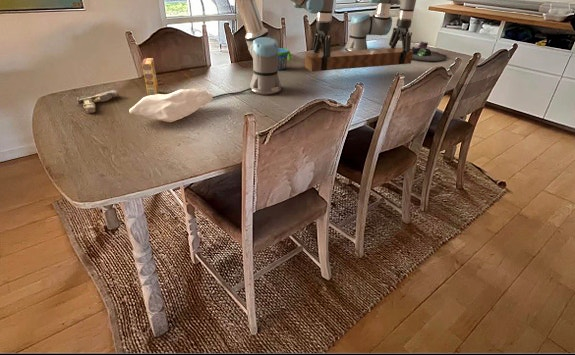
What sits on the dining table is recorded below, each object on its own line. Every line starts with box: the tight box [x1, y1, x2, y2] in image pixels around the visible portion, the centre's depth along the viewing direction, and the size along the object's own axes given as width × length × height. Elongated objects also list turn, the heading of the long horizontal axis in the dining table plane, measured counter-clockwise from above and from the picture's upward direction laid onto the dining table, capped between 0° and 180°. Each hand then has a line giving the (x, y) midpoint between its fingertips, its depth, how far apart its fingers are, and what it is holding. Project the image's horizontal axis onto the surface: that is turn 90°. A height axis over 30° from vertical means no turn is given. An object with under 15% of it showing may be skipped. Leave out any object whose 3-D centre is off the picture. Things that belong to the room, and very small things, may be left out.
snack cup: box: [278, 47, 292, 71], centre depth 207 cm, size 16×10×10 cm
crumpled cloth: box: [129, 88, 214, 123], centre depth 147 cm, size 24×35×9 cm
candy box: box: [141, 57, 160, 96], centre depth 163 cm, size 9×4×15 cm, turn 13°
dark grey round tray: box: [410, 41, 447, 62], centre depth 246 cm, size 35×35×9 cm
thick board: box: [304, 47, 413, 72], centre depth 198 cm, size 62×9×7 cm, turn 112°
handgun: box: [76, 89, 120, 114], centre depth 155 cm, size 3×18×15 cm
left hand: (319, 67), depth 192 cm, fingers closed on thick board, 9 cm apart
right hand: (396, 61), depth 208 cm, fingers closed on thick board, 9 cm apart
